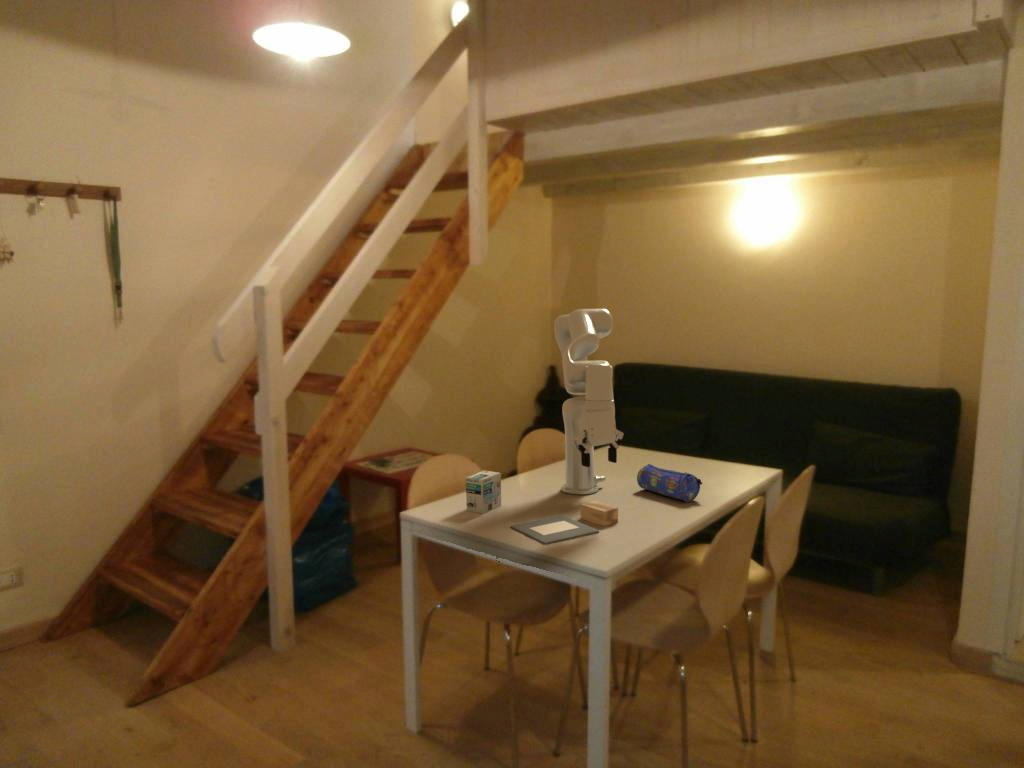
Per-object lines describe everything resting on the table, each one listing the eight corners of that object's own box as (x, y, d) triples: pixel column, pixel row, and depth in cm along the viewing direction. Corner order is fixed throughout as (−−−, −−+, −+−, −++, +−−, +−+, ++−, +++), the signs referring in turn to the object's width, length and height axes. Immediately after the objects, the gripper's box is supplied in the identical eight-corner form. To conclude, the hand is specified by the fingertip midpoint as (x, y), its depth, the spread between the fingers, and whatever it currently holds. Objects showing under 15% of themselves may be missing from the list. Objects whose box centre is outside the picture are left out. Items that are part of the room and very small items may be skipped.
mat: (562, 516, 222) (562, 514, 222) (599, 532, 207) (599, 530, 207) (510, 527, 213) (510, 525, 213) (545, 544, 198) (545, 542, 198)
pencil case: (703, 501, 236) (703, 471, 235) (684, 506, 231) (684, 476, 230) (653, 487, 254) (653, 459, 253) (634, 491, 249) (634, 463, 248)
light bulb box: (483, 514, 226) (483, 479, 225) (465, 511, 230) (464, 477, 228) (502, 505, 235) (501, 472, 234) (484, 502, 239) (483, 469, 238)
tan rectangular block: (594, 515, 224) (594, 500, 223) (618, 522, 216) (618, 507, 216) (580, 518, 221) (580, 504, 220) (604, 526, 213) (604, 511, 212)
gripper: (614, 402, 222) (614, 458, 223) (566, 407, 213) (567, 465, 215) (630, 404, 215) (630, 462, 217) (582, 409, 206) (582, 470, 208)
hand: (599, 464), depth 216 cm, fingers open, 9 cm apart
